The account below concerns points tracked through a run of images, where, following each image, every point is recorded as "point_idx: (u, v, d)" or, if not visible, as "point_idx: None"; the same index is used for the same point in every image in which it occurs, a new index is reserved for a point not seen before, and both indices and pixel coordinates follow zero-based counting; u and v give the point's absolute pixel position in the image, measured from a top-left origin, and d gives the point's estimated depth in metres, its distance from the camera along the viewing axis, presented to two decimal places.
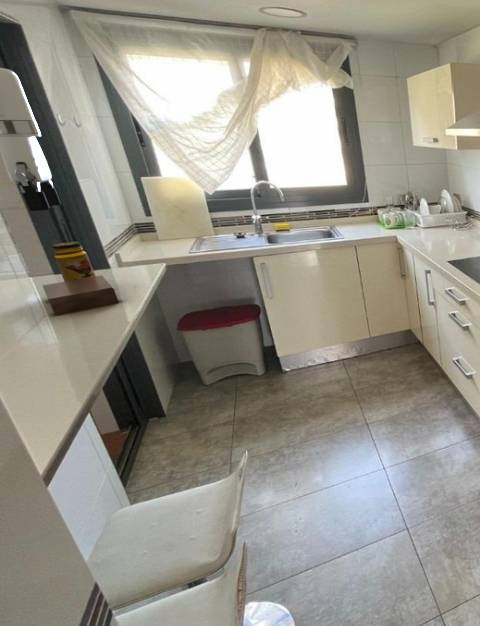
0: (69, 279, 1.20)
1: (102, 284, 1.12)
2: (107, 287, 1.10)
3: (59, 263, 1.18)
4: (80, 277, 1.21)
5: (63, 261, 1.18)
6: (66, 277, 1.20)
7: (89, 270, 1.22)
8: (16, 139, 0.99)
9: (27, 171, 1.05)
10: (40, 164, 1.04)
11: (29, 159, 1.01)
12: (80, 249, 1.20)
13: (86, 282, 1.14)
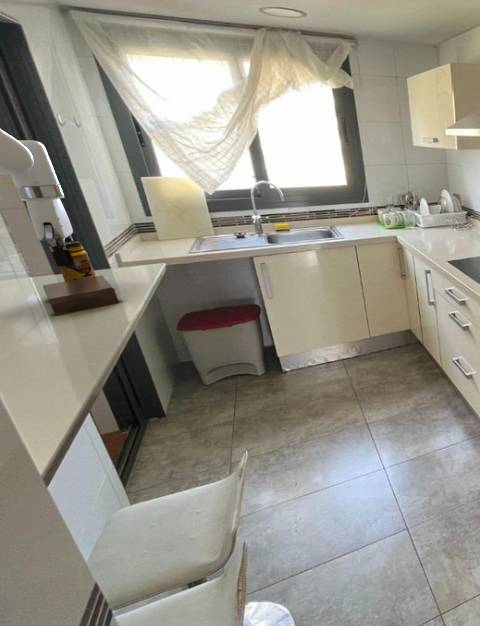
0: (69, 278, 1.20)
1: (102, 284, 1.12)
2: (107, 287, 1.10)
3: None
4: (80, 276, 1.21)
5: None
6: (66, 277, 1.20)
7: (90, 269, 1.23)
8: (43, 202, 1.12)
9: None
10: (63, 222, 1.17)
11: (54, 219, 1.14)
12: (80, 248, 1.21)
13: (86, 282, 1.14)
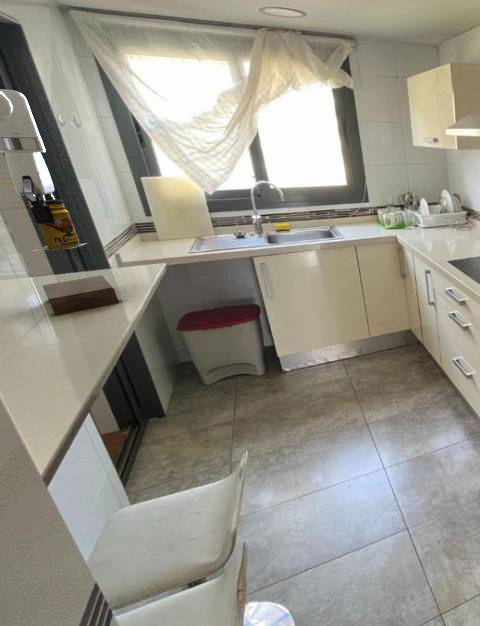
0: (49, 237, 1.15)
1: (102, 284, 1.12)
2: (107, 287, 1.10)
3: None
4: (61, 236, 1.16)
5: None
6: (46, 235, 1.15)
7: (71, 229, 1.18)
8: (22, 155, 1.08)
9: None
10: (44, 177, 1.12)
11: (33, 173, 1.09)
12: (62, 207, 1.16)
13: (86, 282, 1.14)
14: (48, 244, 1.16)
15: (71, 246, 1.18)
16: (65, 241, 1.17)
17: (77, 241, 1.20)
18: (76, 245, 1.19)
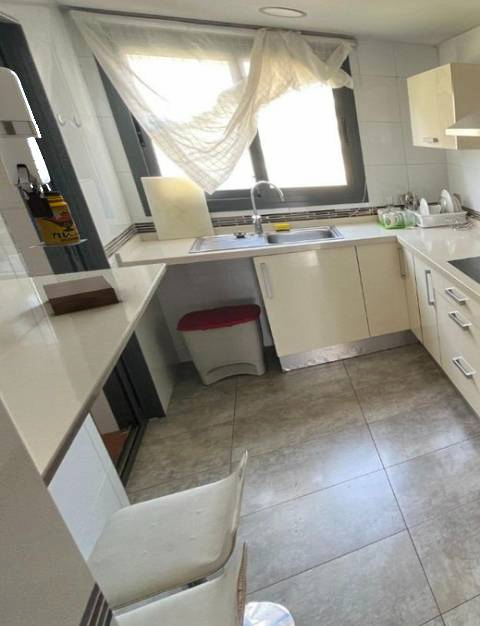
0: (47, 233, 1.04)
1: (102, 284, 1.12)
2: (107, 287, 1.10)
3: None
4: (61, 231, 1.05)
5: None
6: (44, 231, 1.04)
7: (71, 223, 1.07)
8: (16, 140, 0.96)
9: None
10: (40, 166, 1.01)
11: (29, 161, 0.98)
12: (60, 199, 1.05)
13: (86, 282, 1.14)
14: (46, 240, 1.04)
15: (72, 242, 1.07)
16: (65, 236, 1.06)
17: (78, 237, 1.08)
18: (77, 241, 1.08)
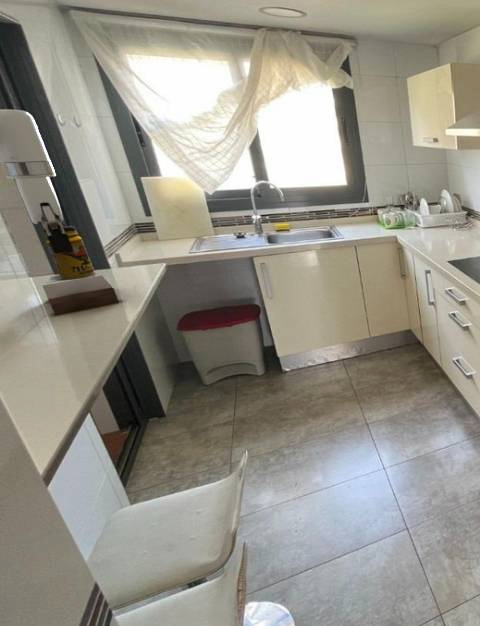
0: (66, 267, 1.07)
1: (102, 284, 1.12)
2: (107, 287, 1.10)
3: None
4: (79, 264, 1.09)
5: None
6: (63, 265, 1.07)
7: (87, 256, 1.10)
8: (39, 180, 1.00)
9: None
10: None
11: (52, 199, 1.02)
12: (76, 233, 1.08)
13: (86, 282, 1.14)
14: (64, 274, 1.08)
15: (89, 275, 1.11)
16: (84, 269, 1.09)
17: (93, 269, 1.12)
18: (93, 273, 1.12)
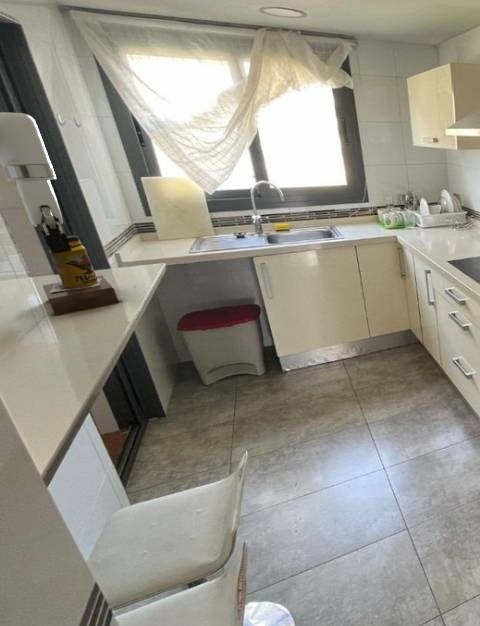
0: (70, 276, 1.08)
1: (102, 284, 1.12)
2: (107, 287, 1.10)
3: (58, 259, 1.06)
4: (83, 274, 1.09)
5: (63, 256, 1.06)
6: (66, 274, 1.08)
7: (90, 266, 1.11)
8: (39, 183, 1.00)
9: None
10: (58, 206, 1.04)
11: (52, 202, 1.02)
12: (80, 243, 1.09)
13: None
14: (68, 284, 1.08)
15: (92, 284, 1.11)
16: (87, 278, 1.10)
17: (96, 278, 1.13)
18: (96, 282, 1.12)
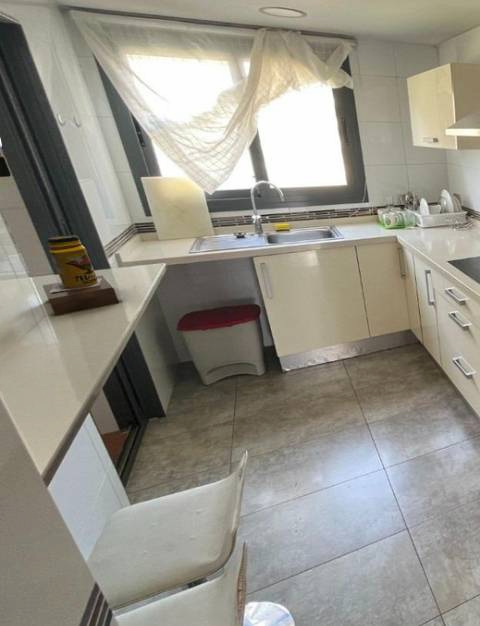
0: (70, 276, 1.08)
1: (102, 284, 1.12)
2: (107, 287, 1.10)
3: (58, 259, 1.06)
4: (83, 274, 1.09)
5: (63, 256, 1.06)
6: (66, 274, 1.08)
7: (90, 266, 1.11)
8: None
9: None
10: None
11: None
12: (80, 243, 1.09)
13: None
14: (68, 284, 1.08)
15: (92, 284, 1.11)
16: (87, 278, 1.10)
17: (96, 278, 1.13)
18: (96, 282, 1.12)
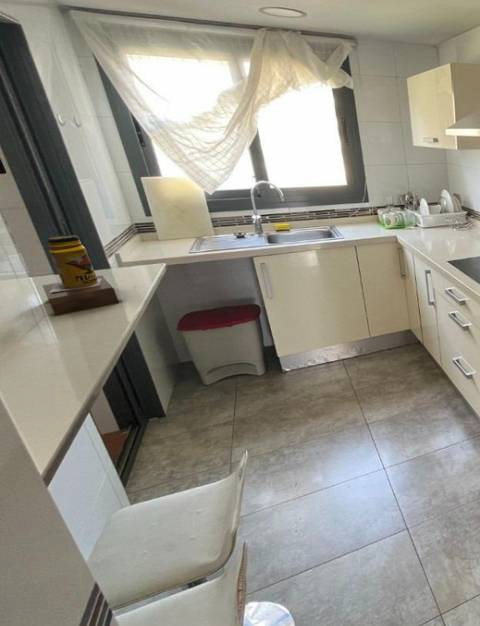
0: (70, 276, 1.08)
1: (102, 284, 1.12)
2: (107, 287, 1.10)
3: (58, 259, 1.06)
4: (83, 274, 1.09)
5: (63, 256, 1.06)
6: (66, 274, 1.08)
7: (90, 266, 1.11)
8: None
9: None
10: None
11: None
12: (80, 243, 1.09)
13: None
14: (68, 284, 1.08)
15: (92, 284, 1.11)
16: (87, 278, 1.10)
17: (96, 278, 1.13)
18: (96, 282, 1.12)
